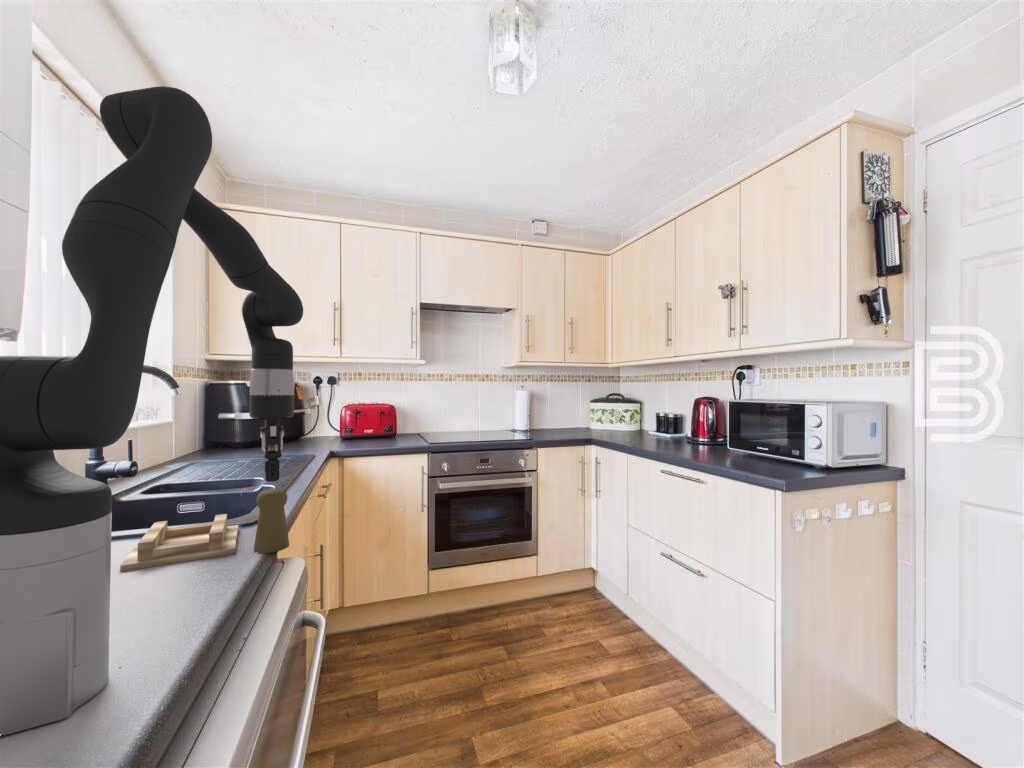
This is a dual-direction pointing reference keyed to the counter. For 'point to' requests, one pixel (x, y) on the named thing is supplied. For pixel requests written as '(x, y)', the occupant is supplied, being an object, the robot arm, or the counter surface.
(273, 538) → the olive pepper mill
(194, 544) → the cradle
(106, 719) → the counter surface
